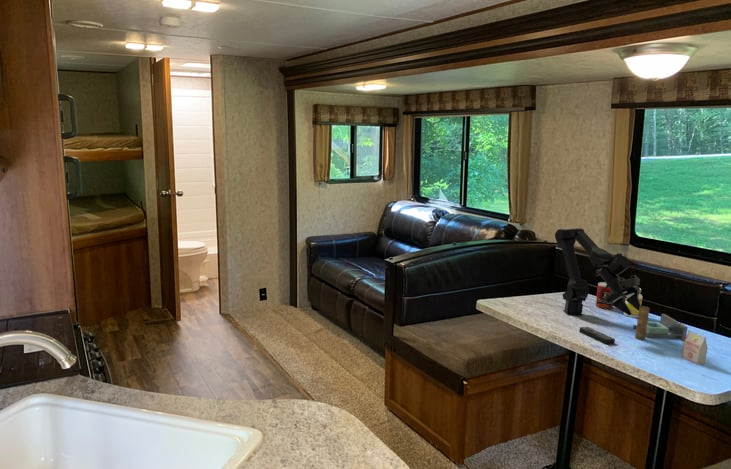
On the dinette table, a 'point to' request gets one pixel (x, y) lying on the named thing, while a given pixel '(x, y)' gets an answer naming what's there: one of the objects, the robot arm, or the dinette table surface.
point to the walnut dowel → (642, 323)
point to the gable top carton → (695, 348)
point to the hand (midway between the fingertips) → (635, 312)
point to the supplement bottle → (633, 310)
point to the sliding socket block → (656, 328)
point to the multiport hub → (597, 335)
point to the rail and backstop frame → (674, 327)
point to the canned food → (603, 296)
